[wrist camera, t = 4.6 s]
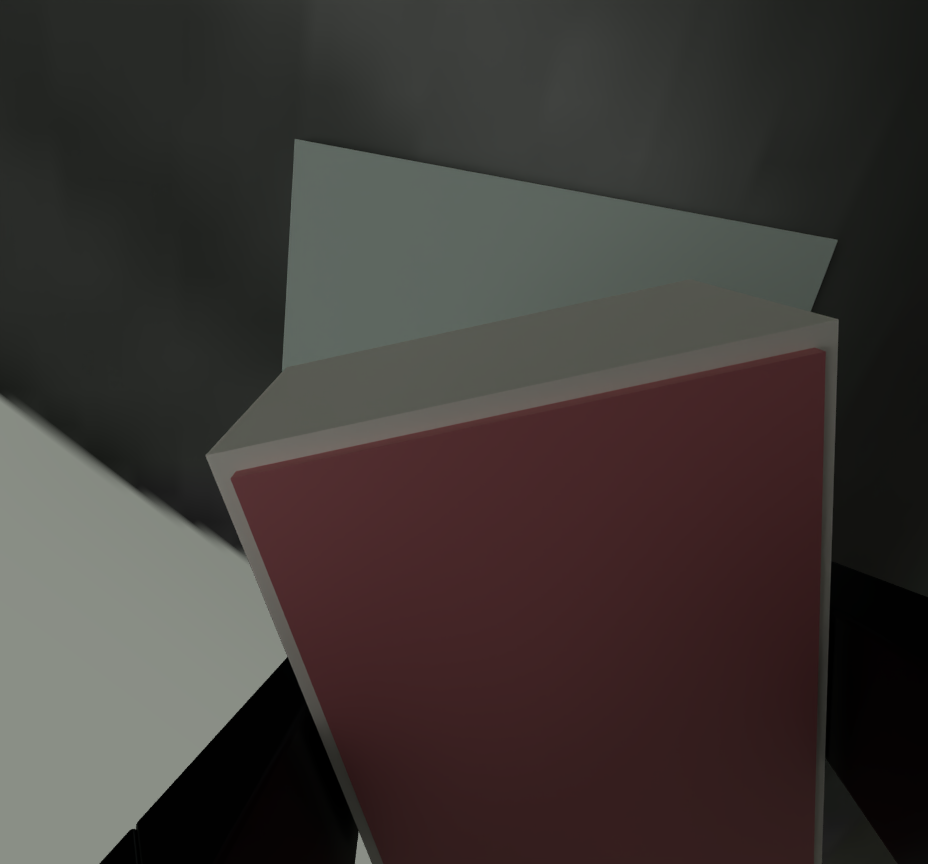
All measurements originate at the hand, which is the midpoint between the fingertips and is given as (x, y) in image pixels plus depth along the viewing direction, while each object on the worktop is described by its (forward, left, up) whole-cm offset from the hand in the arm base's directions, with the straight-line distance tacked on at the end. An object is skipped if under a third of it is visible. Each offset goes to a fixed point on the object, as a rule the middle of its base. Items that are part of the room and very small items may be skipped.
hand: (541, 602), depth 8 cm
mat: (-2, -1, -11) cm, 11 cm away
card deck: (0, 0, -1) cm, 1 cm away
